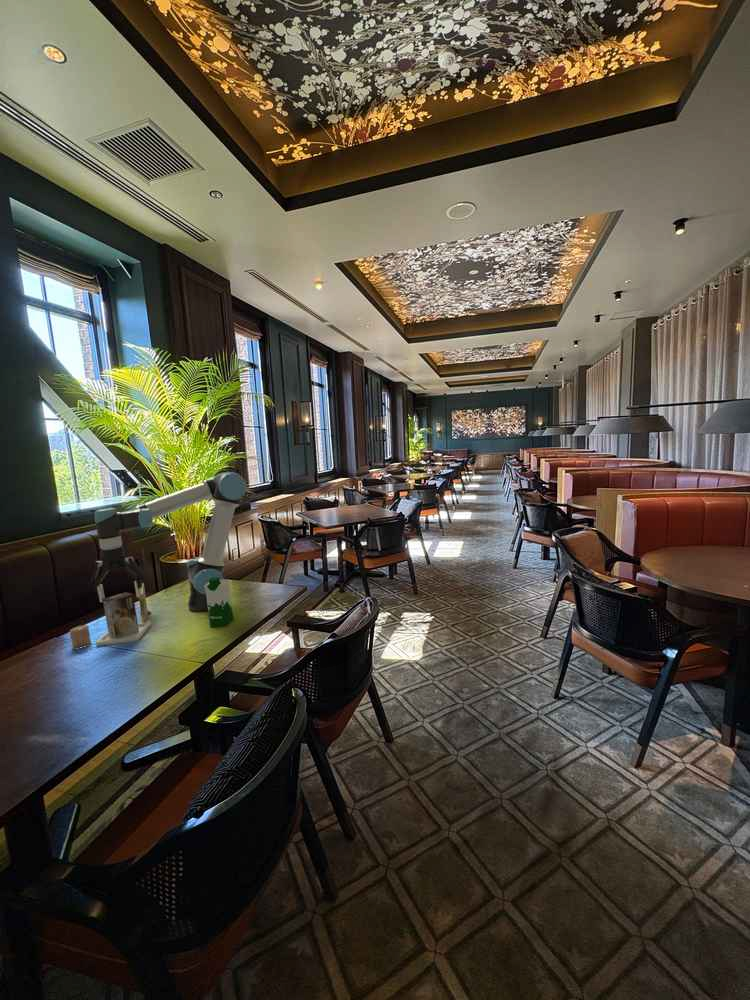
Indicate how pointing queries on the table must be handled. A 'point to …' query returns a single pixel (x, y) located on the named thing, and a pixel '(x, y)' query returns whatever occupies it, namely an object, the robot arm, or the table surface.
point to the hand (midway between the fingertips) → (121, 598)
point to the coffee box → (120, 615)
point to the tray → (129, 638)
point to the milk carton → (219, 602)
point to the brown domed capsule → (80, 636)
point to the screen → (143, 605)
